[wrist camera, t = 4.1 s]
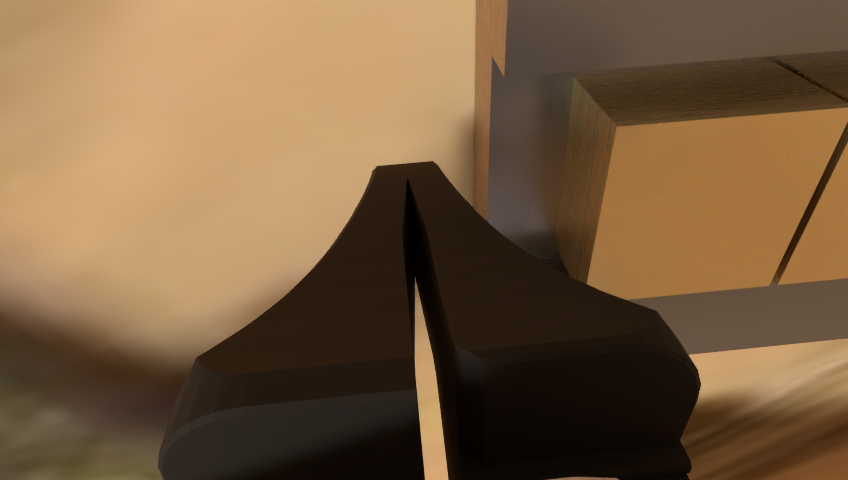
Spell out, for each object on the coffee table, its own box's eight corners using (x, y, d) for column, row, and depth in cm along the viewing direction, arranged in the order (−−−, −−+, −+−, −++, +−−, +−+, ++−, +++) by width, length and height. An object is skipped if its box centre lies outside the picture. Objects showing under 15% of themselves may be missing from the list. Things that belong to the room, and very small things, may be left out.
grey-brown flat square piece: (815, 265, 18) (887, 334, 16) (472, 298, 18) (489, 374, 15) (1051, -176, 11) (1256, -178, 8) (478, -140, 10) (514, -132, 8)
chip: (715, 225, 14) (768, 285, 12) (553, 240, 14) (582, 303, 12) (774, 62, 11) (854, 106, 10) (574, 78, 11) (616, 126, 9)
